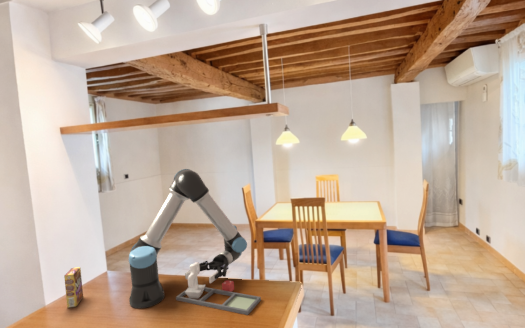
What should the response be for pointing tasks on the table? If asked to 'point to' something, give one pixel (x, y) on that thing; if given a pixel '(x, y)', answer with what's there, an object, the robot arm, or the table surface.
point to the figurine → (194, 282)
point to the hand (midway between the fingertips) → (197, 278)
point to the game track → (233, 304)
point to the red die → (228, 285)
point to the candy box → (73, 287)
